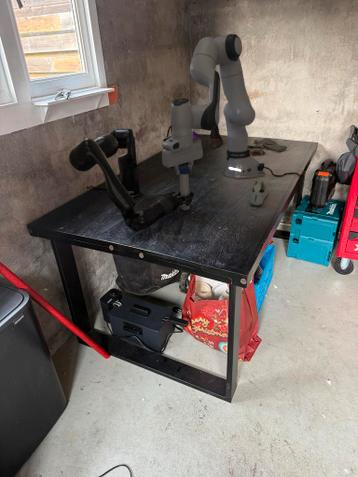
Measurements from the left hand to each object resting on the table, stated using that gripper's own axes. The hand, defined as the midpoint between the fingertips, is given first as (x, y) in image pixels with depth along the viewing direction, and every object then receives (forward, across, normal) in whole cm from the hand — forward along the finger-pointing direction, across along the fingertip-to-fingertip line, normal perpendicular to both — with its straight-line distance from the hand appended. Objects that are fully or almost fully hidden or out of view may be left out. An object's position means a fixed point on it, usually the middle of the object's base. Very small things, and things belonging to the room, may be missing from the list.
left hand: (188, 193), depth 152 cm
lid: (-3, 0, -12) cm, 13 cm away
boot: (+103, +46, +6) cm, 113 cm away
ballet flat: (+25, -24, +7) cm, 35 cm away
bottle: (-3, 0, +7) cm, 7 cm away
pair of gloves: (+103, +11, +7) cm, 104 cm away
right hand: (-3, 0, -11) cm, 11 cm away
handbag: (+52, +47, +6) cm, 70 cm away
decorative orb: (+75, +51, +6) cm, 90 cm away
